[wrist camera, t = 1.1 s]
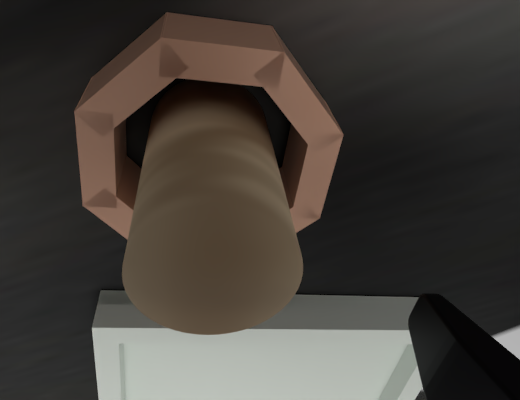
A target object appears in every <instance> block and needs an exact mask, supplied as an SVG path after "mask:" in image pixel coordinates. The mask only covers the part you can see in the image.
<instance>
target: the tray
mask: <svg viewBox="0 0 520 400" xmlns="http://www.w3.org/2000/svg"><path fill="white" fill-rule="evenodd" d="M418 298H419V297H385V296H340V295H296V294H295V295H294V297H293V298H292V299H291V300H290V302H289V303H288V304H287V305H286V306H285V307H284V308H283V309H282V310H281V311H279V312H278V313H277V314H276V315H274V316H273V317H271V318H270V319H268V320H266V321H264V322H262V323H260V324H258V325H256V326H253V327H251V328H248V329H245V330H241V331H238V332H233V333H227V334H219V335H198V334H190V333H184V332H180V331H176V330H173V329H170V328H167V327H164V326H162V325H160V324H158V323H156V322H154V321H152V320H151V319H149V318H148V317H146V316H145V315H144V314H142V313H141V312H140V311H139V310H138V309H137V308H136V307H135V306H134V304H133V303H132V302H131V300H130V299H129V297H128V295H127V293H126V291H117V290H101V291H100V295H99V299H98V304H97V308H96V312H95V317H94V321H93V325H92V334H93V344H94V355H95V366H96V376H97V387H98V397H99V400H415V398H416V397H417V395H418V393H419V392H420V390H421V389H422V387H423V386H422V382H421V379H420V374H419V370H418V366H417V362H416V358H415V353H414V349H413V345H412V341H411V337H410V332H409V328H408V319H409V316H410V314H411V312H412V310H413V308H414V306H415V304H416V302H417V300H418Z"/></svg>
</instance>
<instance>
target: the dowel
mask: <svg viewBox="0 0 520 400" xmlns="http://www.w3.org/2000/svg"><path fill="white" fill-rule="evenodd" d="M302 275H303V260H302V255H301V251H300V247H299V243H298V239H297V236H296V232H295V228H294V224H293V221H292V217H291V213H290V209H289V206H288V202H287V198H286V194H285V191H284V187H283V183H282V179H281V175H280V172H279V168H278V164H277V160H276V157H275V153H274V149H273V145H272V142H271V138H270V134H269V130H268V126H267V123H266V119H265V116H264V113H263V110H262V108H261V106H260V104H259V103H258V101H257V100H256V98H255V97H254V96H253V95H252V94H251V93H250V92H249V91H248V90H246V89H245V88H244V87H242V86H241V85H239V84H229V83H220V82H210V81H201V80H191V79H188V80H186V81H183V82H181V83H179V84H177V85H175V86H174V87H172V88H171V89H170V90H168V91H167V92H166V93H165V94H164V95H163V96H162V98H161V99H160V100H159V102H158V103H157V105H156V107H155V109H154V112H153V114H152V119H151V123H150V128H149V133H148V139H147V144H146V149H145V154H144V159H143V164H142V169H141V174H140V179H139V184H138V190H137V195H136V200H135V205H134V210H133V215H132V220H131V225H130V230H129V236H128V241H127V246H126V251H125V256H124V261H123V266H122V279H123V285H124V288H125V291H126V293H127V295H128V297H129V299H130V300H131V302H132V303H133V304H134V306H135V307H136V308H137V309H138V310H139V311H140V312H141V313H142V314H144V315H145V316H146V317H148V318H149V319H151V320H152V321H154V322H156V323H158V324H160V325H162V326H164V327H167V328H170V329H173V330H176V331H180V332H184V333H190V334H198V335H219V334H227V333H233V332H238V331H241V330H245V329H248V328H251V327H253V326H256V325H258V324H260V323H262V322H264V321H266V320H268V319H270V318H271V317H273V316H274V315H276V314H277V313H278V312H279V311H281V310H282V309H283V308H284V307H285V306H286V305H287V304H288V303H289V302H290V300H291V299H292V298H293V297H294V295H295V293H296V292H297V290H298V288H299V285H300V283H301V280H302Z"/></svg>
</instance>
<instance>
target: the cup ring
mask: <svg viewBox="0 0 520 400" xmlns="http://www.w3.org/2000/svg"><path fill="white" fill-rule="evenodd" d="M176 78H182V79H191V80H201V81H210V82H220V83H229V84H239V85H249V86H258V87H263V88H264V89H265V90H266V92H267V93H268V94H269V95H270V97H271V98H272V99H273V101H274V102H275V103H276V104H277V106H278V107H279V108H280V109H281V111H282V112H283V113H284V115H285V116H286V117H287V118H288V120H289V121H290V122H291V126H290V131H289V136H288V141H287V145H286V150H285V155H284V160H283V165H282V167H281V168H279V172H280V175H281V179H282V183H283V187H284V191H285V194H286V198H287V202H288V206H289V209H290V213H291V217H292V221H293V224H294V228H295V232H296V233H297V232H298V231H300V230H302V229H303V228H305V227H306V226H308V225H310V224H311V223H313V222H315V221H316V220H318V219H320V216H321V212H322V209H323V205H324V202H325V198H326V195H327V191H328V188H329V184H330V181H331V177H332V174H333V170H334V167H335V163H336V160H337V156H338V153H339V149H340V146H341V142H342V139H343V136H344V134H343V132H342V130H341V129H340V127H339V125H338V123H337V121H336V119H335V118H334V116H333V114H332V112H331V110H330V109H329V107H328V105H327V103H326V101H325V100H324V99H323V98H322V96H321V95H320V94H319V92H318V91H317V89H316V88H315V86H314V85H313V84H312V82H311V81H310V79H309V78H308V77H307V75H306V74H305V72H304V71H303V69H302V68H301V67H300V65H299V64H298V62H297V61H296V59H295V58H294V57H293V55H292V54H291V52H290V51H289V50H288V48H287V47H286V45H285V44H284V42H283V41H282V40H281V38H280V37H279V35H278V34H277V33H276V31H275V30H274V28H273V26H272V25H271V26H269V25H261V24H254V23H246V22H238V21H231V20H223V19H215V18H207V17H200V16H192V15H184V14H176V13H169V12H166V13H165V14H164V15H163V16H162V17H161V18H160V19H159V20H157V21H156V22H155V23H154V24H153V25H152V26H151V27H149V28H148V29H147V30H146V31H145V32H144V33H142V34H141V35H140V36H139V37H138V38H137V39H136V40H134V41H133V42H132V43H131V44H130V45H129V46H127V47H126V48H125V49H124V50H123V51H122V52H121V53H119V54H118V55H117V56H116V57H115V58H114V59H113V60H111V61H110V62H109V63H108V64H107V65H106V66H104V67H103V68H102V69H101V70H100V71H99V72H98V73H96V74H95V75H94V76H93V77H91V79H90V81H89V83H88V85H87V87H86V89H85V91H84V93H83V95H82V97H81V99H80V100H79V102H78V104H77V106H76V108H75V110H74V113H75V124H76V135H77V147H78V158H79V169H80V180H81V191H82V202H83V204H82V205H83V206H84V207H85V208H87V209H88V210H89V211H91V212H92V213H93V214H95V215H96V216H97V217H98V218H100V219H101V220H102V221H104V222H105V223H106V224H108V225H109V226H110V227H112V228H113V229H114V230H115V231H117V232H118V233H119V234H121V235H122V236H123V237H125V238H126V239H127V240H128V236H129V230H130V225H131V220H132V215H133V210H134V205H135V200H136V195H137V190H138V184H139V179H140V174H141V168H140V167H139V166H138V165H137V164H136V163H135V162H134V161H132V160H131V159H130V158H129V157H128V156H127V150H126V118H127V117H129V116H130V115H131V114H132V113H134V112H135V111H136V110H137V109H139V108H140V107H141V106H142V105H143V104H145V103H146V102H147V101H148V100H150V99H151V98H152V97H153V96H155V95H156V94H157V93H158V92H160V91H161V90H162V89H163V88H165V87H166V86H167V85H168V84H169V83H171V82H172V81H173V80H174V79H176Z"/></svg>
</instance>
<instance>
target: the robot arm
mask: <svg viewBox="0 0 520 400" xmlns="http://www.w3.org/2000/svg"><path fill="white" fill-rule="evenodd" d="M408 328H409V332H410V337H411V341H412V345H413V349H414V353H415V358H416V362H417V366H418V370H419V374H420V379H421V382H422V386H423V390H424V393H425V396H426V399H427V400H520V360H519V359H518V358H517V357H516V356H514V355H513V354H512V353H511V352H509V351H508V350H507V349H506V348H504V347H503V346H502V345H501V344H500V343H499V342H497V341H496V340H495V339H494V338H493V337H491V336H490V335H489V334H488V333H486V332H485V331H484V330H483V329H482V328H480V327H479V326H478V325H477V324H476V323H474V322H473V321H472V320H471V319H469V318H468V317H467V316H466V315H465V314H463V313H462V312H461V311H460V310H459V309H457V308H456V307H455V306H454V305H452V304H451V303H450V302H449V301H448V300H446V299H445V298H444V297H443V296H441V295H439V294H422V295H420V296H419V298H418V300H417V302H416V304H415V306H414V308H413V310H412V312H411V314H410V316H409V319H408Z"/></svg>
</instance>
